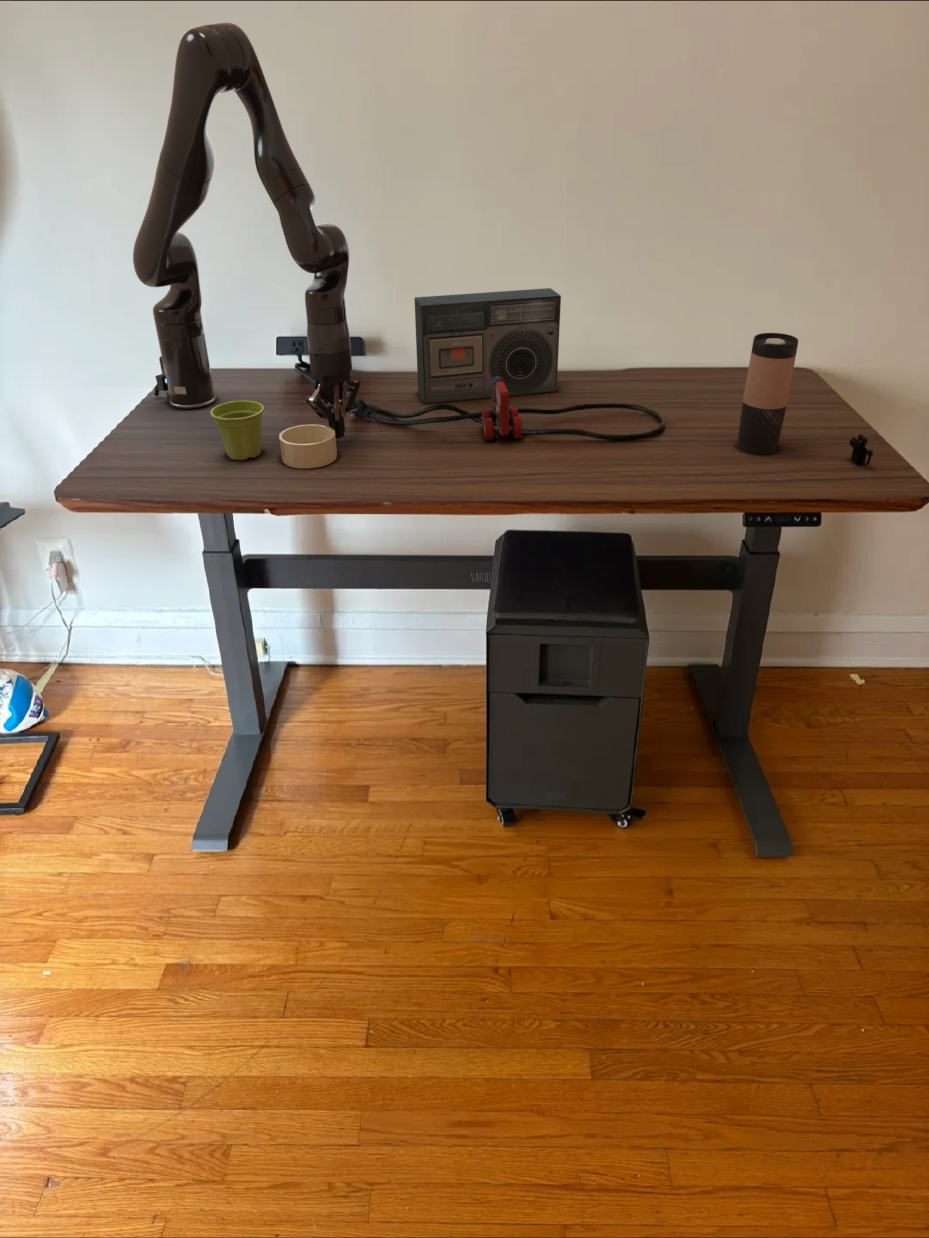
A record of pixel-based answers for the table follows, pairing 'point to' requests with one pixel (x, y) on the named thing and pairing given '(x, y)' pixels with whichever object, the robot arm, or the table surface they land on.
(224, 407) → the plant pot
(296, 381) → the table surface
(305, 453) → the beige round bowl
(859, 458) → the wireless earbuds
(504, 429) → the red toy vehicle
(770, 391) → the travel mug
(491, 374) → the cassette player
